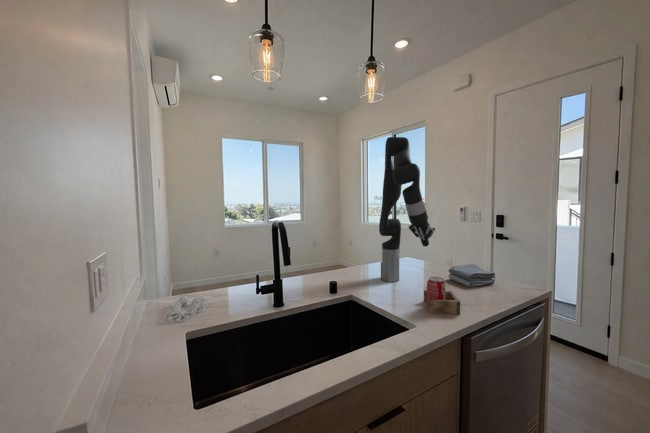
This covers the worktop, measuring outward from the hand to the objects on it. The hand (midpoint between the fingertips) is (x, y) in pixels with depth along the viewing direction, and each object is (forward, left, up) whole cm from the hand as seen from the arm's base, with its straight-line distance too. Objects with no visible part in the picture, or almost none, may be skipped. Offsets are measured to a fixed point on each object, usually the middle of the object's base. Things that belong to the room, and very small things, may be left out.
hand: (426, 245), depth 122 cm
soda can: (+6, -9, -24) cm, 26 cm away
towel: (+17, +36, -24) cm, 47 cm away
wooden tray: (+7, -8, -24) cm, 26 cm away
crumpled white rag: (-81, -59, -24) cm, 104 cm away
